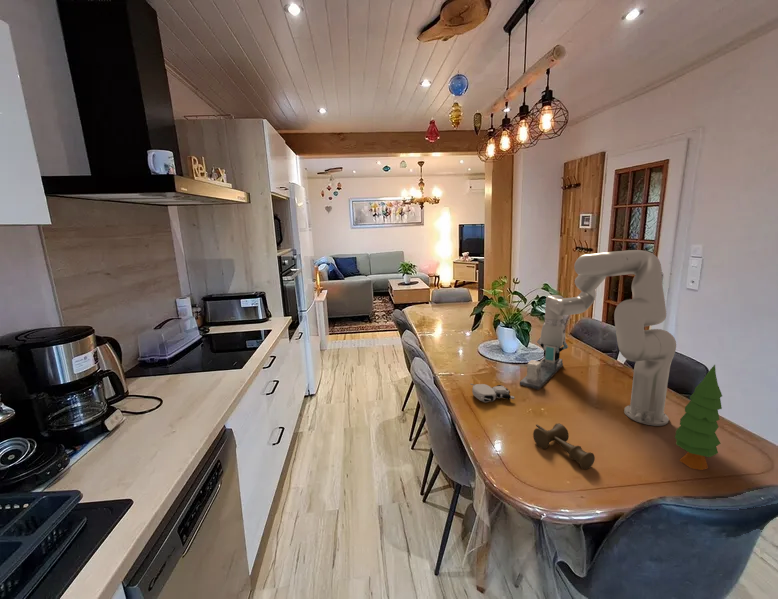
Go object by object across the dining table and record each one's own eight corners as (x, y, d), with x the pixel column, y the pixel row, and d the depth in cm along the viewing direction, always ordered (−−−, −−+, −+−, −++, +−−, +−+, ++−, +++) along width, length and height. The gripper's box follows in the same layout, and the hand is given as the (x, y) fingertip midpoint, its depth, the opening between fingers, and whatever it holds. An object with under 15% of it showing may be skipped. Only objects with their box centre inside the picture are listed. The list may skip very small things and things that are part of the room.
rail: (538, 389, 145) (539, 368, 143) (519, 384, 151) (520, 364, 149) (562, 365, 168) (564, 347, 166) (545, 362, 174) (546, 343, 172)
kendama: (575, 476, 96) (523, 436, 115) (600, 467, 100) (546, 429, 118) (578, 457, 95) (525, 419, 113) (603, 449, 99) (547, 413, 117)
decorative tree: (722, 476, 93) (740, 371, 87) (680, 471, 96) (695, 368, 90) (701, 454, 102) (716, 357, 96) (663, 449, 105) (676, 355, 99)
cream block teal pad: (557, 360, 168) (558, 344, 166) (553, 363, 163) (554, 347, 162) (548, 358, 170) (549, 342, 169) (544, 362, 166) (545, 346, 164)
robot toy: (502, 391, 147) (468, 392, 146) (503, 381, 147) (468, 382, 145) (516, 405, 135) (478, 406, 134) (517, 395, 135) (479, 395, 133)
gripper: (575, 322, 160) (572, 360, 164) (538, 317, 171) (536, 352, 175) (570, 326, 155) (567, 365, 159) (532, 320, 166) (530, 357, 170)
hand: (551, 358), depth 167 cm, fingers closed on cream block teal pad, 4 cm apart
